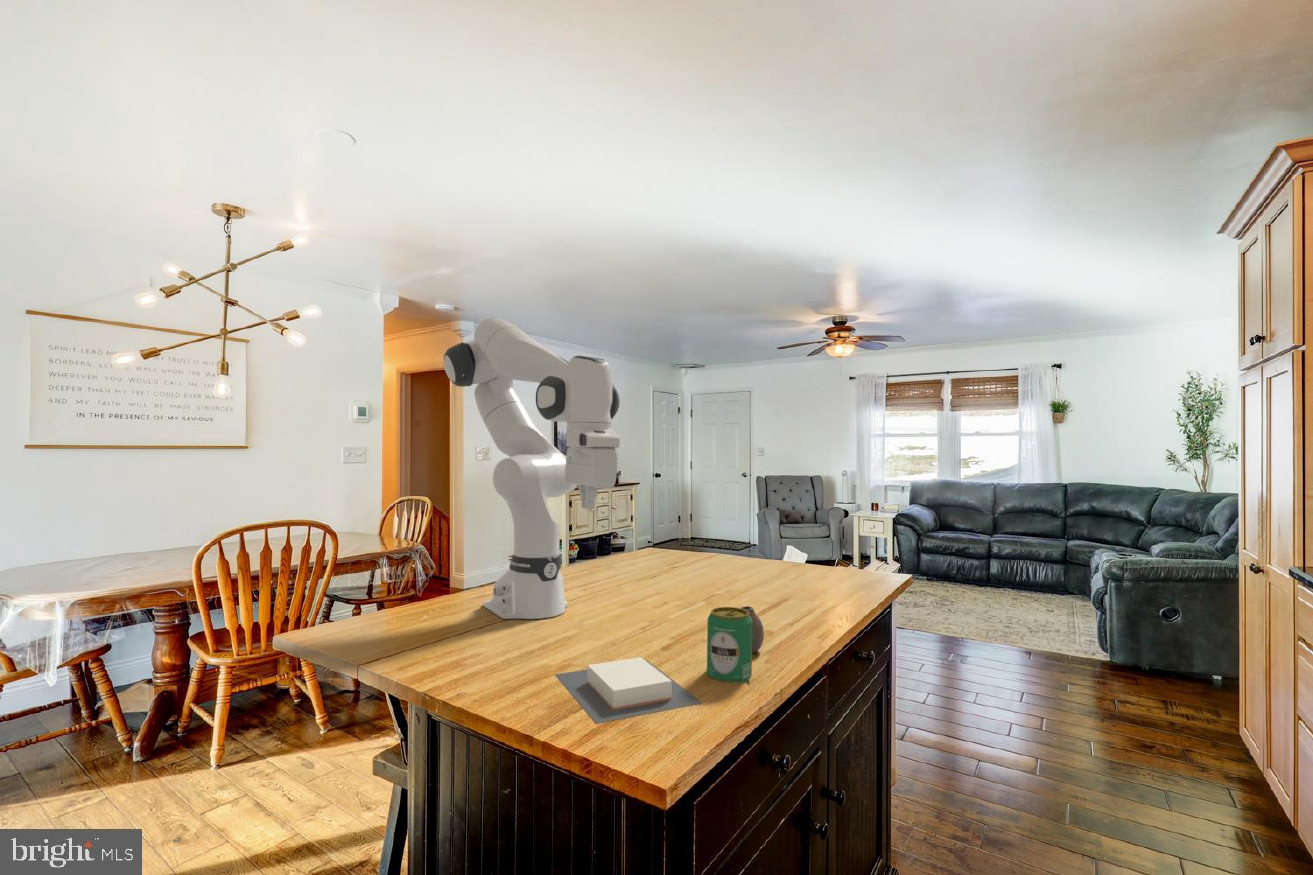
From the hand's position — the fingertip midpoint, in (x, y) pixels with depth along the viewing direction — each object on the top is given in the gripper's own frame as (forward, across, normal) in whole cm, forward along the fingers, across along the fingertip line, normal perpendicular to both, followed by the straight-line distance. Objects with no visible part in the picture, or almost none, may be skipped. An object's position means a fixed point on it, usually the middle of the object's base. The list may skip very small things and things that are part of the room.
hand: (587, 508), depth 121 cm
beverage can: (+29, +20, +20) cm, 41 cm away
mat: (+29, +19, 0) cm, 35 cm away
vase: (+29, +8, +32) cm, 44 cm away
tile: (+26, +14, 0) cm, 30 cm away
